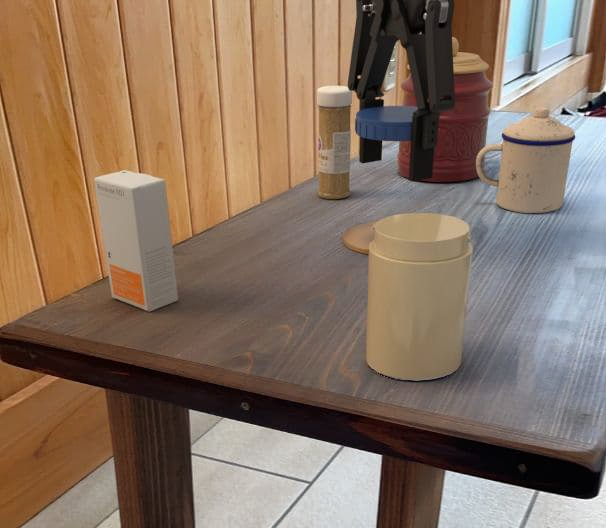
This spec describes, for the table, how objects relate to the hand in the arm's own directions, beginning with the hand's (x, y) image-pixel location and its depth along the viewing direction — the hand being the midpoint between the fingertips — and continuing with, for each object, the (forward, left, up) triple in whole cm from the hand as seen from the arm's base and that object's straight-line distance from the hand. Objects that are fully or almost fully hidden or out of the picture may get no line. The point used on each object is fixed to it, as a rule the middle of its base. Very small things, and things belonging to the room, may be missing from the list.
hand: (394, 169), depth 97 cm
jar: (-7, +33, -8) cm, 35 cm away
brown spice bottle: (+11, -18, -8) cm, 22 cm away
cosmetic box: (+22, +24, -8) cm, 34 cm away
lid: (0, 0, +5) cm, 5 cm away
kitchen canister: (-2, -33, -8) cm, 34 cm away
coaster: (0, 0, -8) cm, 8 cm away
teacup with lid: (-14, -18, -8) cm, 24 cm away
